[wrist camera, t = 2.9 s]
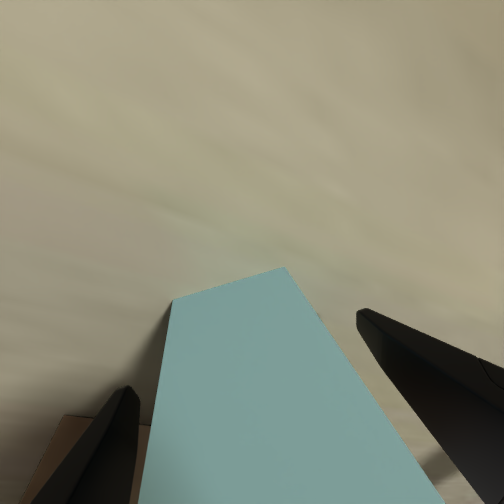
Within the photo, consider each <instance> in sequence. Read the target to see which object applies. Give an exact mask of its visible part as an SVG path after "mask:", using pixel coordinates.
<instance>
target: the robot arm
mask: <svg viewBox="0 0 504 504" xmlns="http://www.w3.org/2000/svg"><path fill="white" fill-rule="evenodd" d="M356 326H357V329H358V332H359V333H360V335H361V336H362V338H363V340H364V341H365V343H366V344H367V346H368V348H369V349H370V351H371V353H372V354H373V356H374V357H375V359H376V361H377V362H378V364H379V365H380V367H381V368H382V370H383V371H384V372H385V374H386V375H387V376H388V378H389V379H390V380H391V381H392V383H393V384H394V385H395V387H396V388H397V389H398V391H399V392H400V393H401V395H402V396H403V397H404V399H405V400H406V401H407V402H408V404H409V405H410V406H411V408H412V409H413V410H414V412H415V413H416V414H417V416H418V417H419V418H420V419H421V421H422V422H423V423H424V425H425V426H426V427H427V429H428V430H429V431H430V433H431V434H432V435H433V437H434V438H435V439H436V440H437V442H438V443H439V444H440V446H441V447H442V448H443V450H444V451H445V452H446V454H447V455H448V456H449V457H450V459H451V460H452V461H453V463H454V464H455V465H456V467H457V468H458V469H459V471H460V472H461V473H462V475H463V476H464V477H465V478H466V480H467V481H468V482H469V484H470V485H471V486H472V488H473V489H474V490H475V492H476V493H477V494H478V495H479V497H480V498H481V499H482V501H483V502H484V503H485V504H504V368H502V367H499V366H497V365H495V364H492V363H490V362H488V361H486V360H483V359H481V358H477V357H476V356H474V355H472V354H470V353H467V352H465V351H463V350H461V349H458V348H456V347H454V346H452V345H449V344H447V343H445V342H443V341H440V340H438V339H436V338H434V337H431V336H429V335H427V334H425V333H422V332H420V331H418V330H416V329H413V328H411V327H409V326H407V325H404V324H402V323H400V322H398V321H395V320H393V319H391V318H389V317H386V316H384V315H382V314H380V313H377V312H375V311H373V310H371V309H368V308H364V309H361V310H358V311H357V312H356ZM139 419H140V399H139V397H138V395H137V394H136V393H135V391H134V390H133V389H132V387H131V386H129V385H127V386H124V387H121V388H118V389H117V390H116V391H115V392H114V393H113V394H112V396H111V397H110V398H109V400H108V401H107V402H106V404H105V405H104V406H103V408H102V409H101V410H100V412H99V413H98V414H97V415H96V417H95V418H94V419H93V421H92V422H91V423H90V425H89V426H88V427H87V429H86V430H85V431H84V433H83V434H82V435H81V437H80V438H79V439H78V441H77V442H76V443H75V444H74V446H73V447H72V448H71V450H70V451H69V452H68V454H67V455H66V456H65V458H64V459H63V460H62V462H61V463H60V464H59V466H58V467H57V468H56V470H55V471H54V472H53V473H52V475H51V476H50V477H49V479H48V480H47V481H46V483H45V484H44V485H43V487H42V488H41V489H40V491H39V492H38V493H37V495H36V496H35V497H34V499H33V500H32V501H31V502H30V504H129V503H130V497H131V490H132V484H133V477H134V471H135V465H136V458H137V450H138V436H139Z"/></svg>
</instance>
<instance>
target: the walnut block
mask: <svg viewBox="0 0 504 504" xmlns="http://www.w3.org/2000/svg"><path fill="white" fill-rule="evenodd" d="M92 421H93V419H91V418H83V417H76V416H68V415H64V416H63V418H62V420H61V422H60V424H59V426H58V428H57V430H56V432H55V434H54V436H53V438H52V440H51V442H50V444H49V446H48V448H47V450H46V451H45V453H44V455H43V457H42V459H41V461H40V463H39V465H38V467H37V469H36V471H35V473H34V475H33V477H32V479H31V481H30V483H29V485H28V487H27V489H26V491H25V493H24V495H23V497H22V499H21V501H20V503H19V504H30V502H31V501H32V500H33V499H34V497H35V496H36V495H37V493H38V492H39V491H40V489H41V488H42V487H43V485H44V484H45V483H46V481H47V480H48V479H49V477H50V476H51V475H52V473H53V472H54V471H55V470H56V468H57V467H58V466H59V464H60V463H61V462H62V460H63V459H64V458H65V456H66V455H67V454H68V452H69V451H70V450H71V448H72V447H73V446H74V444H75V443H76V442H77V441H78V439H79V438H80V437H81V435H82V434H83V433H84V431H85V430H86V429H87V427H88V426H89V425H90V423H91V422H92ZM150 430H151V426H145V425H139V436H138V450H137V458H136V465H135V471H134V477H133V484H132V490H131V497H130V503H129V504H138V500H139V494H140V488H141V483H142V477H143V471H144V465H145V459H146V453H147V448H148V442H149V436H150Z"/></svg>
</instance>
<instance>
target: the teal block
mask: <svg viewBox="0 0 504 504" xmlns="http://www.w3.org/2000/svg"><path fill="white" fill-rule="evenodd" d="M138 504H445V502H444V501H443V499H442V498H441V496H440V495H439V493H438V492H437V490H436V489H435V487H434V486H433V484H432V483H431V481H430V480H429V479H428V477H427V476H426V474H425V473H424V471H423V470H422V468H421V467H420V465H419V464H418V462H417V461H416V459H415V458H414V456H413V455H412V453H411V452H410V451H409V449H408V448H407V446H406V445H405V443H404V442H403V440H402V439H401V437H400V436H399V434H398V433H397V431H396V430H395V428H394V427H393V426H392V424H391V423H390V421H389V420H388V418H387V417H386V415H385V414H384V412H383V411H382V409H381V408H380V406H379V405H378V403H377V402H376V400H375V399H374V398H373V396H372V395H371V393H370V392H369V390H368V389H367V387H366V386H365V384H364V383H363V381H362V380H361V378H360V377H359V375H358V374H357V373H356V371H355V370H354V368H353V367H352V365H351V364H350V362H349V361H348V359H347V358H346V356H345V355H344V353H343V352H342V350H341V349H340V347H339V346H338V345H337V343H336V342H335V340H334V339H333V337H332V336H331V334H330V333H329V331H328V330H327V328H326V327H325V325H324V324H323V322H322V321H321V320H320V318H319V317H318V315H317V314H316V312H315V311H314V309H313V308H312V306H311V305H310V303H309V302H308V300H307V299H306V297H305V296H304V295H303V293H302V292H301V290H300V289H299V287H298V286H297V284H296V283H295V281H294V280H293V278H292V277H291V275H290V274H289V272H288V271H287V269H286V268H285V267H281V268H278V269H275V270H271V271H268V272H265V273H261V274H258V275H255V276H251V277H248V278H245V279H241V280H238V281H234V282H231V283H228V284H224V285H221V286H218V287H214V288H211V289H208V290H204V291H201V292H198V293H194V294H191V295H187V296H184V297H181V298H177V299H174V300H173V302H172V308H171V314H170V320H169V325H168V331H167V337H166V343H165V349H164V355H163V360H162V366H161V372H160V378H159V384H158V389H157V395H156V401H155V407H154V413H153V419H152V424H151V430H150V436H149V442H148V448H147V453H146V459H145V465H144V471H143V477H142V483H141V488H140V494H139V500H138Z"/></svg>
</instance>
